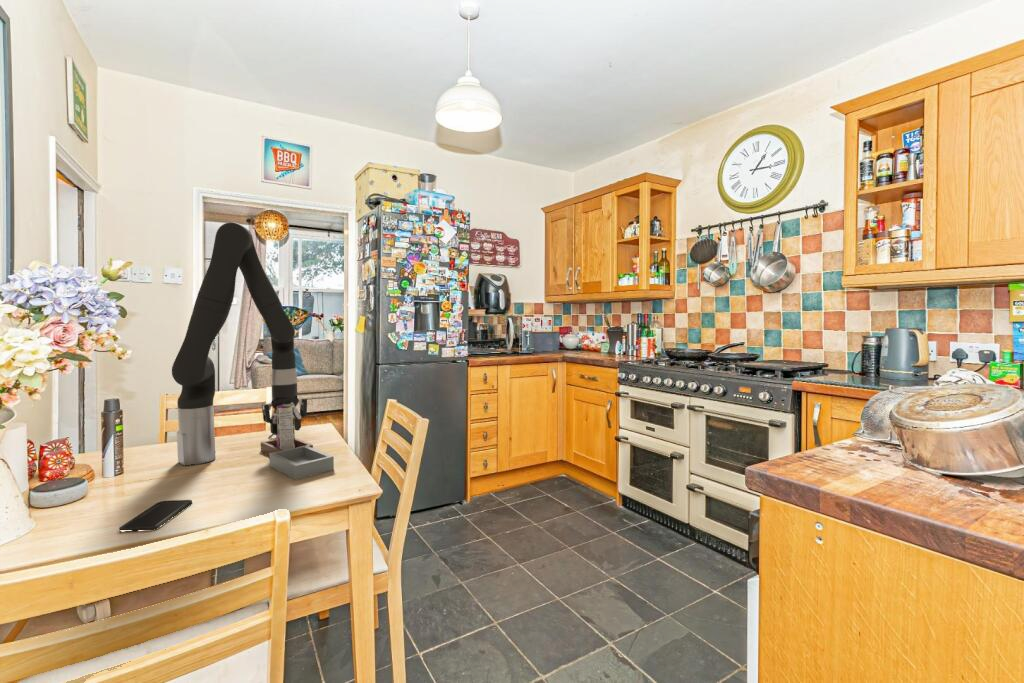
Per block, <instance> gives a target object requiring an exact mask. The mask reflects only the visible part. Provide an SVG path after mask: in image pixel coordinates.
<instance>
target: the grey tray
mask: <svg viewBox="0 0 1024 683" xmlns="http://www.w3.org/2000/svg"><path fill="white" fill-rule="evenodd" d="M268 456H269V467H270V468H272V469H274V470H275V471H277V472H279V471H280V472H279V473H281V472H282V473H281V474H283V473H284V475H285V474H286V475H285V476H287V475H288V476H287V477H289V476H290V478H291V477H292V478H291V479H293V478H294V479H293V480H295V479H298V480H301V478H302V479H304V477H305V478H309V477H312V476H311V475H313V476H316V475H315V474H317V475H320V474H323V473H322V472H324V473H327V472H326V471H328V472H330V470H331V471H334V470H335V465H334V464H335V463H334V459H335V458H334V455H331V454H328V453H326V452H323V451H320V450H318V449H316V448H314V447H313V448H311V447H309V446H301V447H297V448H292V449H287V450H283V451H278V452H274V453H269V455H268ZM319 473H320V474H319ZM308 476H309V477H308Z"/></svg>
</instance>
